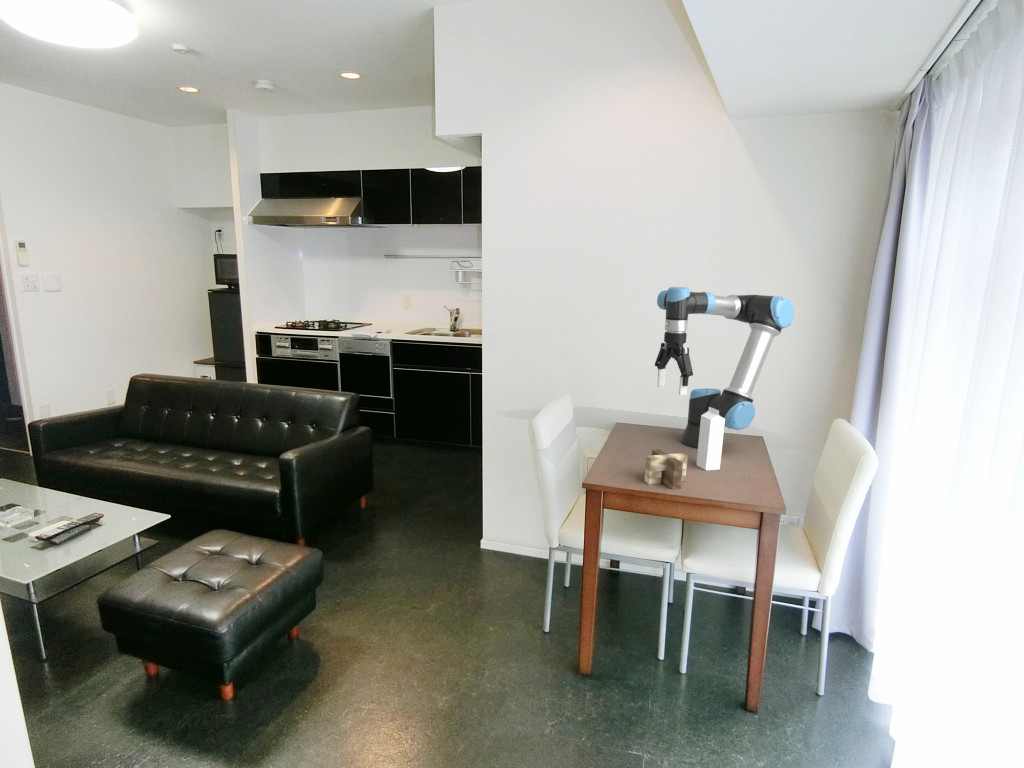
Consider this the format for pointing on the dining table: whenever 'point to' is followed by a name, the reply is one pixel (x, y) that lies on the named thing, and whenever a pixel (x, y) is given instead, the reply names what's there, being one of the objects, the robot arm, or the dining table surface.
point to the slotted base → (671, 471)
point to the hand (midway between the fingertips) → (671, 390)
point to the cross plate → (662, 467)
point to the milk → (710, 440)
